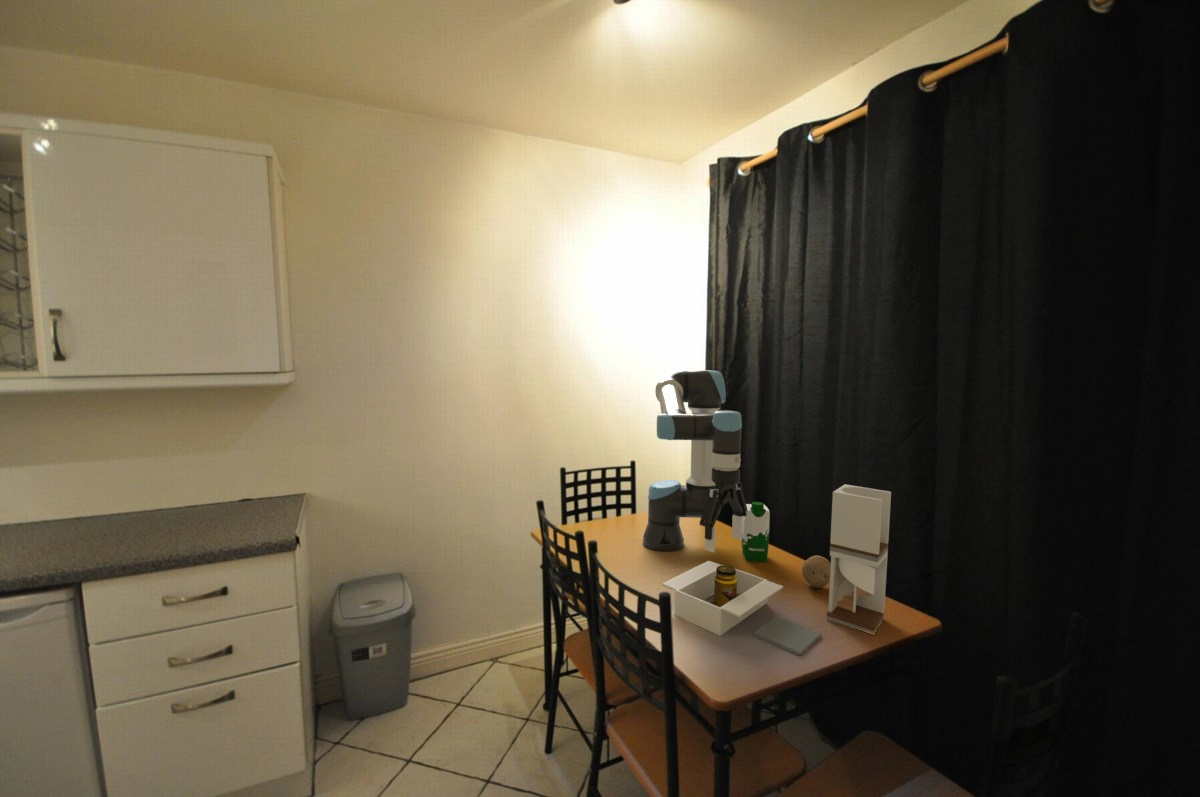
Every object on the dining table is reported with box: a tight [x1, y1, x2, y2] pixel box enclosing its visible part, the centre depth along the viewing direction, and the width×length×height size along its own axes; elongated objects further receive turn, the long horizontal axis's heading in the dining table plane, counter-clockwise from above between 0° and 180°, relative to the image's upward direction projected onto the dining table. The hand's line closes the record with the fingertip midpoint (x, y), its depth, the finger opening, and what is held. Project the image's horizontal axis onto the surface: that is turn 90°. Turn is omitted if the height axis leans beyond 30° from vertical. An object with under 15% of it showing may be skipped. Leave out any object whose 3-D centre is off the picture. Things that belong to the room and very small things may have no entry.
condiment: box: [707, 564, 738, 607], centre depth 143 cm, size 7×8×12 cm
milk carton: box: [741, 501, 771, 563], centre depth 179 cm, size 9×9×20 cm
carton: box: [661, 560, 784, 637], centre depth 143 cm, size 24×24×7 cm
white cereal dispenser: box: [826, 483, 892, 633], centre depth 136 cm, size 11×11×35 cm
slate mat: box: [753, 615, 822, 656], centre depth 130 cm, size 12×12×1 cm
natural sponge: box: [801, 555, 831, 589], centre depth 156 cm, size 9×9×10 cm
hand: (723, 544), depth 141 cm, fingers open, 13 cm apart
